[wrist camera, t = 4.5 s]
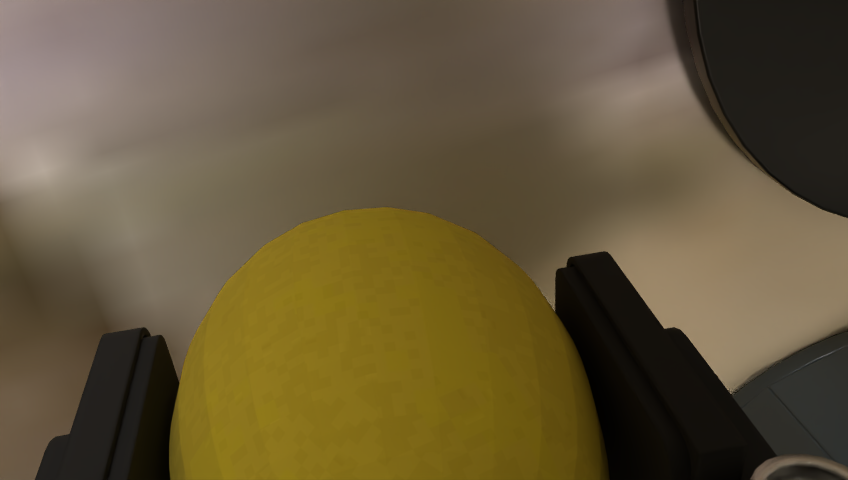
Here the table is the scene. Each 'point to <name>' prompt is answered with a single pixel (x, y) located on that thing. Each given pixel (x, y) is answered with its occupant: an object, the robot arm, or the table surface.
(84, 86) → the table surface
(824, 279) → the table surface
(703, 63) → the lid
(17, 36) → the table surface
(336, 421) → the lemon
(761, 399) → the pot
